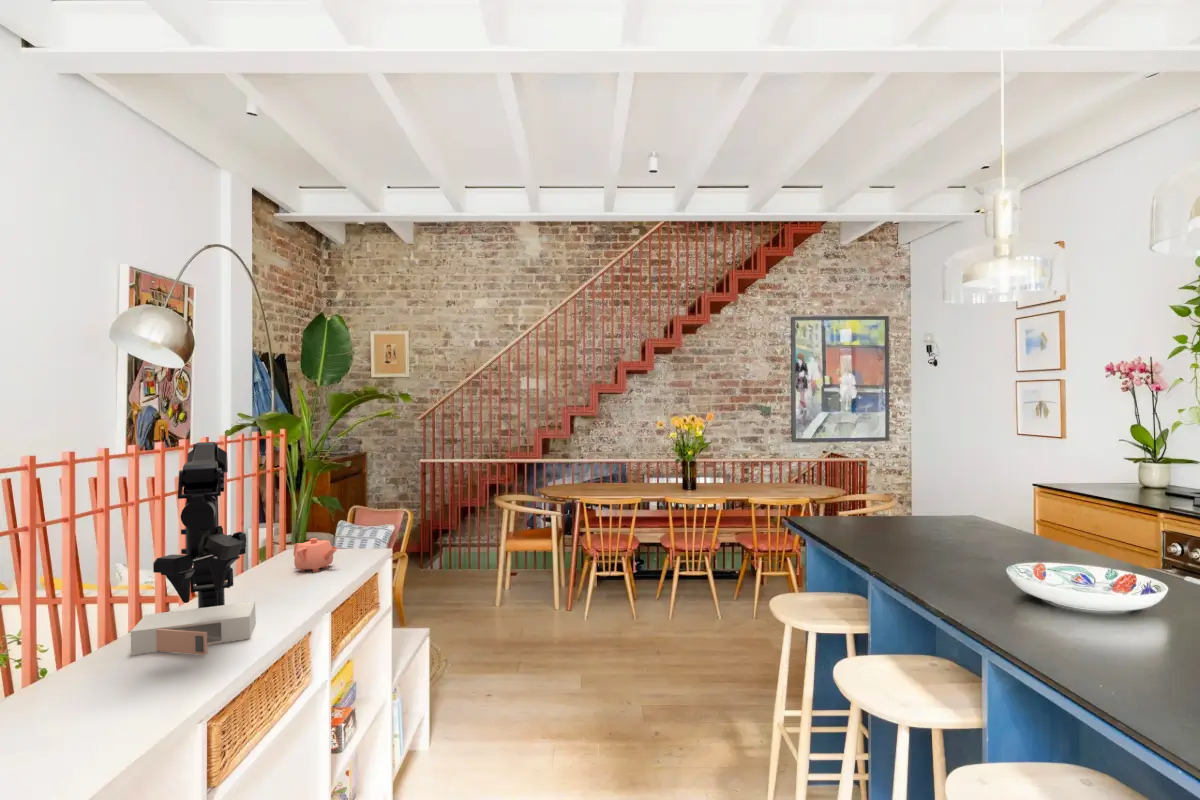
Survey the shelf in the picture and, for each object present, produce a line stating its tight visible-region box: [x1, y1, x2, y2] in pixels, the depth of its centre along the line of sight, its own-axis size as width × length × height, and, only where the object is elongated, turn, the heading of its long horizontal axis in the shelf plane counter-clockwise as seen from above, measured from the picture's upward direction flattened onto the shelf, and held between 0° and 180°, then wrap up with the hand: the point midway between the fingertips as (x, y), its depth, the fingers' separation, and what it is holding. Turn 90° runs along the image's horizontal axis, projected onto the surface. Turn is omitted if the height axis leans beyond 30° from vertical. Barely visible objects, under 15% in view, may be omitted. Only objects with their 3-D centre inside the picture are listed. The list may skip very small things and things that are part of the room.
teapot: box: [293, 537, 338, 573], centre depth 207 cm, size 12×12×10 cm
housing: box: [130, 601, 257, 656], centre depth 147 cm, size 12×22×5 cm, turn 112°
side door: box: [156, 629, 208, 656], centre depth 137 cm, size 1×12×4 cm, turn 77°
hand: (202, 596), depth 139 cm, fingers open, 8 cm apart
